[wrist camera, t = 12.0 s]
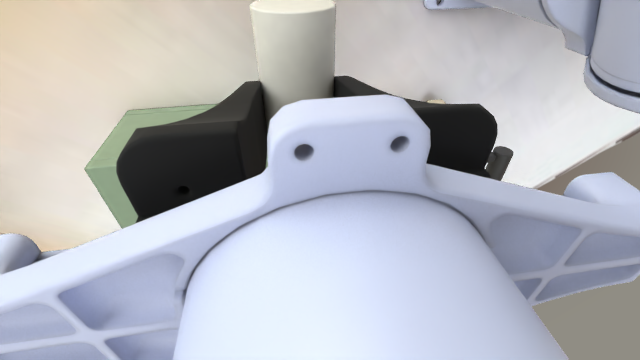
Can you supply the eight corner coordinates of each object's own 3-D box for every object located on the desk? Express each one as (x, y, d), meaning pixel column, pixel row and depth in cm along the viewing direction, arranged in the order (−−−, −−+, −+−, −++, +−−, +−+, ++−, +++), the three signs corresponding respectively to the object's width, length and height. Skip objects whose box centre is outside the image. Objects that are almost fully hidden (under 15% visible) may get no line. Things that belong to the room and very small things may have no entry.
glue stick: (251, -3, 12) (246, 13, 9) (328, -5, 12) (343, 10, 10) (271, 159, 16) (272, 196, 14) (326, 155, 17) (336, 191, 14)
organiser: (320, 95, 24) (337, 145, 18) (321, 218, 32) (333, 276, 27) (127, 110, 22) (83, 168, 17) (183, 234, 31) (166, 299, 25)
